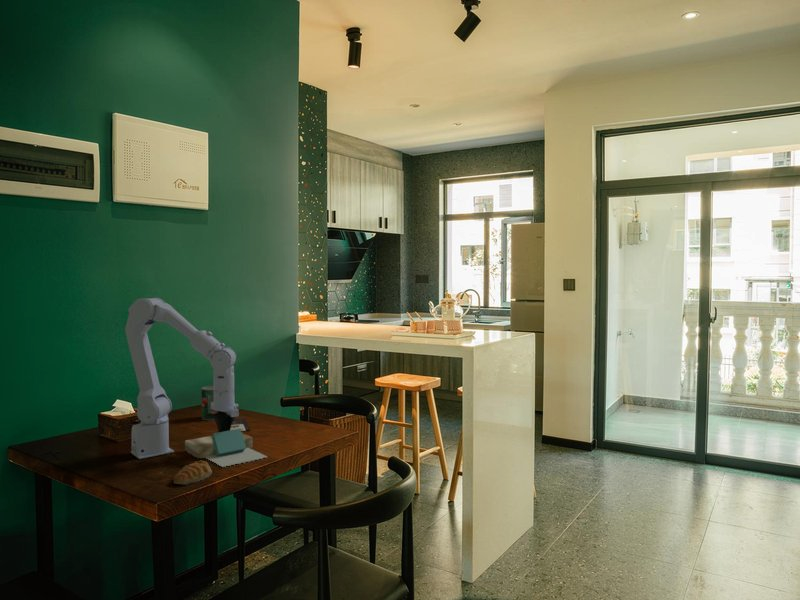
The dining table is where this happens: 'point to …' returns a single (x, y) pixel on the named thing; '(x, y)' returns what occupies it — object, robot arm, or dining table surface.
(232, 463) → the mat
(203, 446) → the beige flat block
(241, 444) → the tile
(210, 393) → the canned tomato
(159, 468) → the dining table surface
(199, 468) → the pastry
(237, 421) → the chocolate bar
